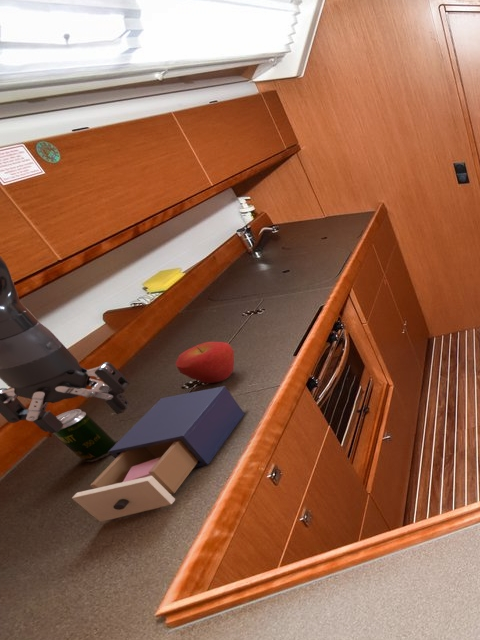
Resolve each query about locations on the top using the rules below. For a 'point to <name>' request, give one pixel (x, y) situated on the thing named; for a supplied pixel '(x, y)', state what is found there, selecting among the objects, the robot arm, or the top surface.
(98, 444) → the beer can
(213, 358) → the apple
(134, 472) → the block
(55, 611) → the top surface
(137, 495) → the drawer
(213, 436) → the cabinet
